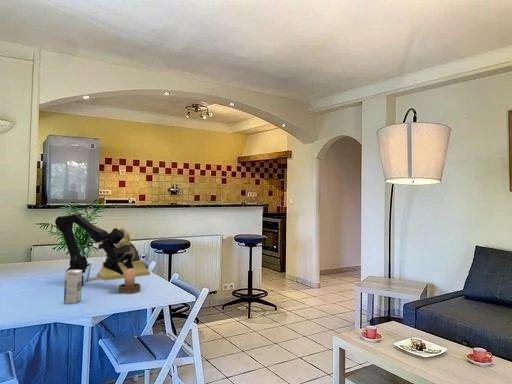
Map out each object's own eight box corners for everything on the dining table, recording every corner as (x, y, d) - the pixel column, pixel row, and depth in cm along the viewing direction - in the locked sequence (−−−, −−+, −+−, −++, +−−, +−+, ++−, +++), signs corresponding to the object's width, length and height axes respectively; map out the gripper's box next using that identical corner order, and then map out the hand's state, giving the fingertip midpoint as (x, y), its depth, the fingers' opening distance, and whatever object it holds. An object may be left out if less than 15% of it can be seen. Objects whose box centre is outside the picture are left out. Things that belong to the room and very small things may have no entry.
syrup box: (68, 300, 179) (69, 269, 179) (81, 300, 180) (82, 269, 180) (63, 303, 174) (64, 271, 174) (76, 303, 174) (77, 271, 174)
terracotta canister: (124, 291, 195) (125, 270, 195) (124, 289, 200) (124, 268, 200) (135, 290, 197) (135, 269, 197) (134, 288, 202) (134, 267, 202)
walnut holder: (125, 294, 191) (125, 288, 191) (115, 290, 198) (115, 285, 198) (144, 291, 199) (144, 285, 199) (133, 287, 206) (133, 282, 206)
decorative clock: (104, 280, 221) (105, 229, 221) (96, 277, 231) (98, 227, 231) (149, 275, 239) (151, 227, 239) (141, 271, 249) (142, 225, 249)
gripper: (109, 241, 191) (127, 265, 188) (131, 238, 209) (148, 259, 206) (95, 256, 194) (113, 280, 190) (118, 251, 211) (135, 273, 208)
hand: (128, 272), depth 199 cm, fingers open, 9 cm apart
